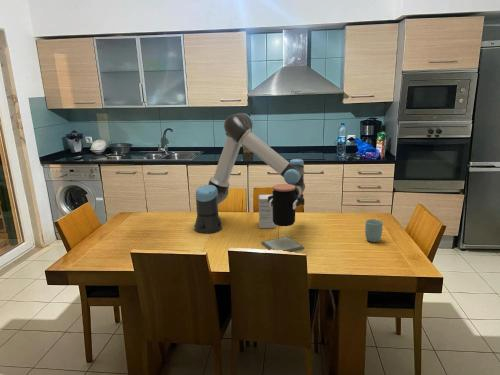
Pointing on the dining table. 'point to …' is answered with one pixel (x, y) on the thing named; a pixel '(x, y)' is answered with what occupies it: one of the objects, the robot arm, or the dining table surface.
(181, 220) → the dining table surface
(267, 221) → the supplement box
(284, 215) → the coffee jar
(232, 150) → the robot arm
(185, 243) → the dining table surface
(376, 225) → the cup
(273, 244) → the mat
